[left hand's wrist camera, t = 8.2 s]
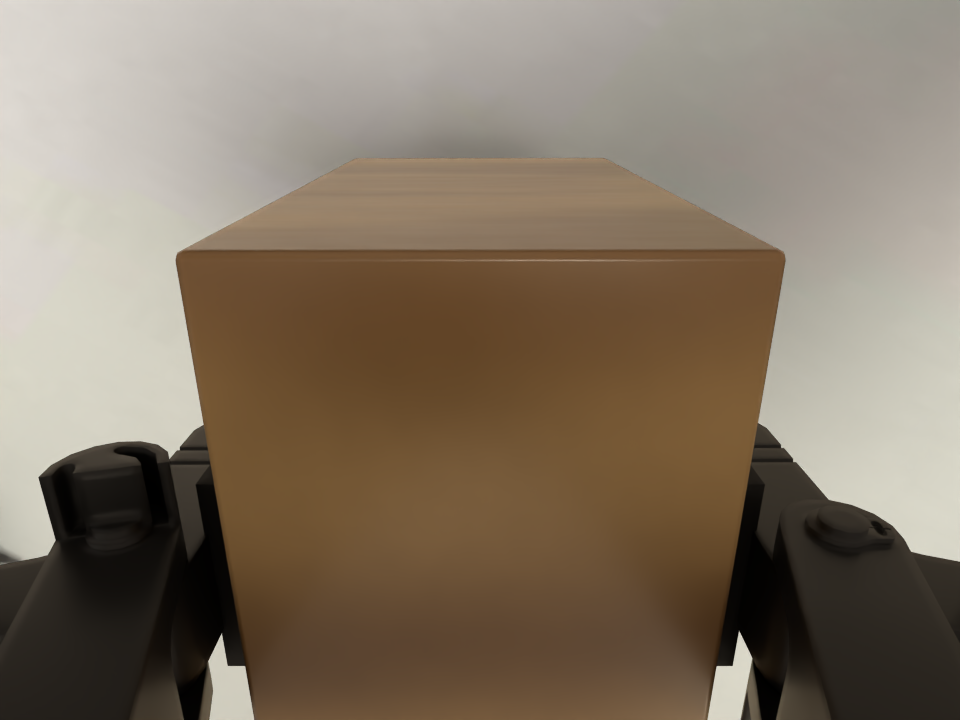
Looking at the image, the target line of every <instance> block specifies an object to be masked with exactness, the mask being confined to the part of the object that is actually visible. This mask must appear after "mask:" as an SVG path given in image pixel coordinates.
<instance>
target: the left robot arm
mask: <svg viewBox="0 0 960 720" xmlns="http://www.w3.org/2000/svg"><path fill="white" fill-rule="evenodd" d="M39 481H40V485H41V488H42V492H43V496H44V499H45V503H46V506H47V510H48V514H49V517H50V521H51V524H52V528H53V532H54V535H55V539H56V541H55V543H54V545H53V547H52V549H51V551H50V552H49V554H48V555H47V556H43V557H39V558H35V559H29V560H24V561H19V562H14V563H8V564H3V565H0V720H209V717H210V710H211V702H212V695H213V687H212V680H211V674H210V669H209V663H208V660H209V658H210V656H211V654H212V652H213V650H214V648H215V646H216V644H217V642H218V640H219V638H220V635H221V633H222V636H223V641H224V647H225V653H226V658H227V664H228V666H245V661H244V655H243V650H242V644H241V638H240V632H239V626H238V621H237V615H236V609H235V603H234V597H233V591H232V586H231V580H230V574H229V568H228V562H227V557H226V551H225V545H224V539H223V533H222V527H221V522H220V516H219V510H218V504H217V498H216V493H215V487H214V481H213V475H212V469H211V464H210V458H209V452H208V446H207V440H206V434H205V429H204V425H203V426H201V427H199V428H198V429H196V430H194V431H193V433H192V434H191V435H190V436H189V437H188V438H187V440H186V441H185V442H184V443H183V444H182V445H181V447H180V451H176V452H175V454H174V455H173V456H172V457H171V458H170V459H169V456H168V452H167V451H166V450H164V449H163V448H162V447H160V446H159V445H156V444H151V443H146V442H141V441H138V442H116V443H111V444H105V445H100V446H95V447H92V448H89V449H86V450H83V451H80V452H77V453H74V454H71V455H69V456H67V457H66V458H64V459H62V460H60V461H58V462H56V463H54V464H53V465H51V466H50V467H49V468H48V469H47V470H46V471H45V472H44V473H42V474H41V475H40V476H39ZM739 631H740V633H741V635H742V637H743V639H744V641H745V643H746V645H747V648H748V650H749V652H750V654H751V656H752V663H751V669H750V674H749V679H748V684H747V689H746V695H745V700H744V705H743V710H742V715H741V720H960V562H958V561H953V560H947V559H942V558H937V557H932V556H926V555H922V554H918V553H914V552H911V551H910V549H909V547H908V546H907V544H906V542H905V540H904V539H903V537H902V536H901V535H900V534H899V533H898V532H897V531H896V529H895V528H894V527H893V526H892V525H890V524H889V523H887V522H886V521H884V520H882V519H881V518H879V517H878V516H876V515H875V514H873V513H870V512H868V511H865V510H863V509H860V508H858V507H855V506H853V505H849V504H845V503H840V502H836V501H831V500H828V499H827V497H826V496H825V495H824V494H823V493H822V492H821V490H820V489H819V488H818V487H817V486H816V485H815V484H814V482H813V481H812V480H811V479H810V478H809V477H808V475H807V474H806V473H805V472H804V471H803V470H802V469H801V467H800V466H799V465H798V464H797V463H796V462H793V458H792V457H791V456H790V455H789V453H788V452H787V451H786V450H785V449H784V448H781V444H780V443H779V442H778V441H777V440H776V438H775V437H774V436H773V435H772V434H771V433H770V432H769V430H768V429H767V428H765V427H764V426H762V425H760V424H759V423H758V425H757V431H756V437H755V442H754V448H753V454H752V460H751V466H750V472H749V478H748V484H747V489H746V495H745V501H744V507H743V513H742V519H741V525H740V531H739V536H738V542H737V548H736V554H735V560H734V566H733V572H732V577H731V583H730V589H729V595H728V601H727V607H726V613H725V619H724V624H723V630H722V636H721V642H720V648H719V654H718V660H717V666H733V661H734V655H735V649H736V644H737V638H738V633H739Z"/></svg>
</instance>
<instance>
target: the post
mask: <svg viewBox="0 0 960 720" xmlns="http://www.w3.org/2000/svg"><path fill="white" fill-rule="evenodd" d="M176 266H177V272H178V277H179V283H180V289H181V295H182V301H183V306H184V312H185V318H186V324H187V330H188V336H189V341H190V347H191V353H192V359H193V365H194V370H195V376H196V382H197V388H198V394H199V400H200V405H201V411H202V417H203V423H204V429H205V434H206V440H207V446H208V452H209V458H210V464H211V469H212V475H213V481H214V487H215V493H216V498H217V504H218V510H219V516H220V522H221V527H222V533H223V539H224V545H225V551H226V557H227V562H228V568H229V574H230V580H231V586H232V591H233V597H234V603H235V609H236V615H237V621H238V626H239V632H240V638H241V644H242V650H243V655H244V661H245V667H246V673H247V679H248V685H249V690H250V696H251V702H252V708H253V714H254V719H255V720H707V718H708V713H709V707H710V701H711V695H712V689H713V683H714V677H715V671H716V666H717V660H718V654H719V648H720V642H721V636H722V630H723V624H724V619H725V613H726V607H727V601H728V595H729V589H730V583H731V577H732V572H733V566H734V560H735V554H736V548H737V542H738V536H739V531H740V525H741V519H742V513H743V507H744V501H745V495H746V489H747V484H748V478H749V472H750V466H751V460H752V454H753V448H754V442H755V437H756V431H757V425H758V419H759V413H760V407H761V401H762V395H763V390H764V384H765V378H766V372H767V366H768V360H769V354H770V348H771V343H772V337H773V331H774V325H775V319H776V313H777V307H778V301H779V296H780V290H781V284H782V278H783V272H784V266H785V254H784V252H783V251H781V250H779V249H777V248H775V247H773V246H771V245H770V244H768V243H766V242H764V241H762V240H760V239H758V238H756V237H754V236H752V235H750V234H748V233H747V232H745V231H743V230H741V229H739V228H737V227H735V226H733V225H731V224H729V223H727V222H726V221H724V220H722V219H720V218H718V217H716V216H714V215H712V214H710V213H708V212H706V211H704V210H703V209H701V208H699V207H697V206H695V205H693V204H691V203H689V202H687V201H685V200H683V199H682V198H680V197H678V196H676V195H674V194H672V193H670V192H668V191H666V190H664V189H662V188H660V187H659V186H657V185H655V184H653V183H651V182H649V181H647V180H645V179H643V178H641V177H639V176H638V175H636V174H634V173H632V172H630V171H628V170H626V169H624V168H622V167H620V166H618V165H616V164H615V163H613V162H611V161H609V160H607V159H605V158H356V159H354V160H352V161H350V162H348V163H346V164H344V165H342V166H340V167H338V168H337V169H335V170H333V171H331V172H329V173H327V174H325V175H323V176H321V177H320V178H318V179H316V180H314V181H312V182H310V183H308V184H306V185H304V186H303V187H301V188H299V189H297V190H295V191H293V192H291V193H289V194H287V195H286V196H284V197H282V198H280V199H278V200H276V201H274V202H272V203H270V204H269V205H267V206H265V207H263V208H261V209H259V210H257V211H255V212H253V213H252V214H250V215H248V216H246V217H244V218H242V219H240V220H238V221H236V222H234V223H233V224H231V225H229V226H227V227H225V228H223V229H221V230H219V231H217V232H216V233H214V234H212V235H210V236H208V237H206V238H204V239H202V240H200V241H199V242H197V243H195V244H193V245H191V246H189V247H187V248H185V249H183V250H182V251H180V252H178V253H177V256H176Z"/></svg>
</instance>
